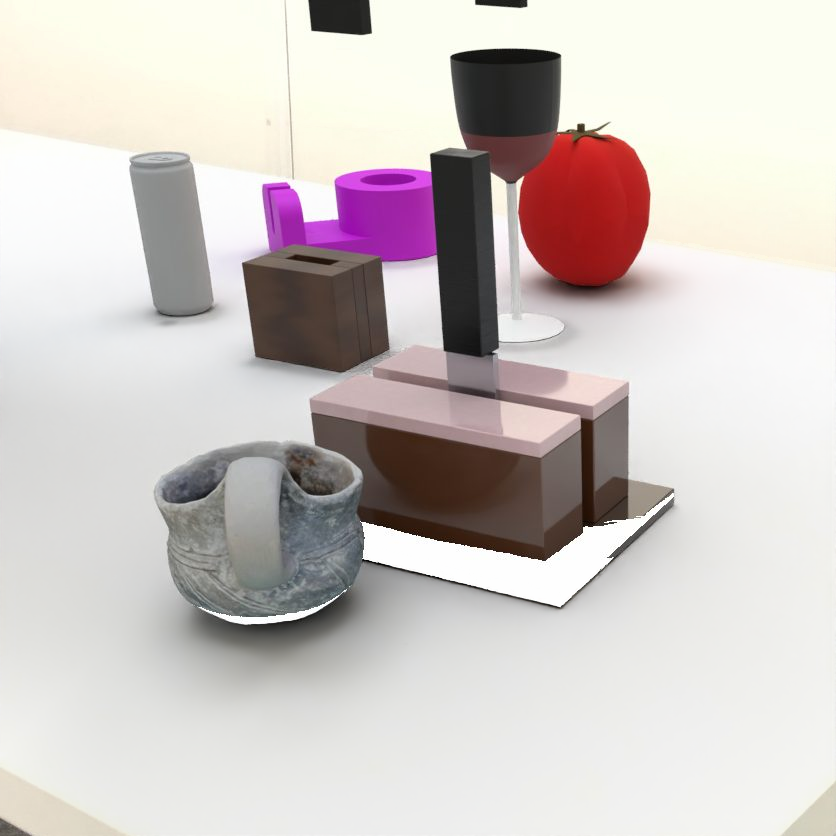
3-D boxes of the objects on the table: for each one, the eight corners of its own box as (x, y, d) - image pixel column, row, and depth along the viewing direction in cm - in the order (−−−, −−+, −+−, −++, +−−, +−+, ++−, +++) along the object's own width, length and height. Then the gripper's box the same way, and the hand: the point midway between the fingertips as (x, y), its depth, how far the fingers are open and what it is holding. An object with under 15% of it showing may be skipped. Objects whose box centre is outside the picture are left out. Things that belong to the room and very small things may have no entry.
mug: (352, 549, 72) (332, 372, 67) (412, 660, 62) (394, 462, 57) (168, 581, 69) (131, 397, 64) (200, 704, 59) (161, 498, 54)
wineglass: (453, 340, 103) (434, 62, 93) (484, 308, 111) (470, 47, 100) (552, 347, 102) (545, 65, 92) (577, 314, 109) (573, 50, 99)
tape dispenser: (429, 230, 133) (425, 165, 130) (459, 254, 125) (454, 185, 122) (267, 246, 127) (258, 178, 124) (287, 272, 120) (278, 200, 116)
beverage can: (178, 297, 113) (153, 149, 107) (227, 303, 111) (204, 153, 105) (142, 313, 109) (113, 160, 103) (192, 319, 107) (166, 164, 101)
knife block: (255, 356, 100) (241, 262, 96) (305, 334, 104) (293, 243, 101) (342, 372, 97) (331, 276, 93) (389, 348, 102) (381, 256, 98)
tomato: (530, 305, 111) (524, 139, 105) (513, 266, 122) (507, 113, 115) (665, 298, 113) (668, 135, 107) (637, 261, 124) (638, 110, 117)
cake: (273, 538, 73) (253, 404, 69) (415, 450, 84) (405, 330, 80) (560, 608, 67) (556, 465, 63) (674, 503, 78) (677, 375, 74)
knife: (449, 505, 75) (423, 152, 65) (466, 494, 76) (443, 146, 67) (495, 516, 74) (476, 158, 64) (511, 503, 75) (495, 152, 66)
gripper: (262, -682, 42) (331, 53, 53) (618, -510, 61) (615, 1, 72) (83, -653, 44) (184, 39, 55) (478, -497, 64) (495, -7, 75)
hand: (428, 19), depth 64 cm, fingers open, 13 cm apart
